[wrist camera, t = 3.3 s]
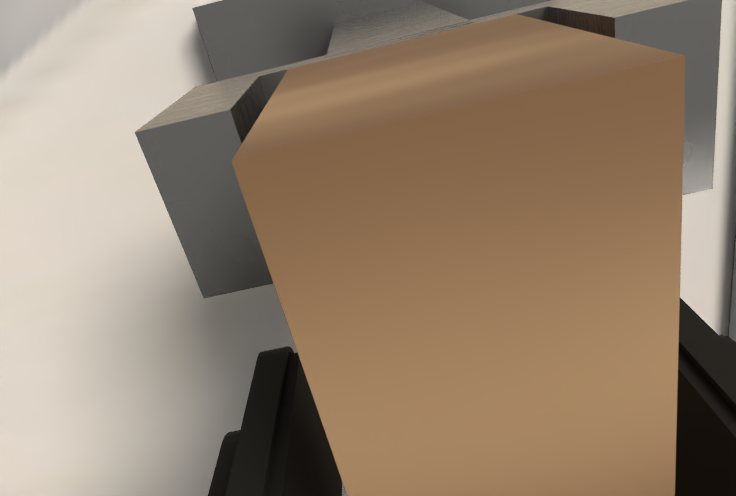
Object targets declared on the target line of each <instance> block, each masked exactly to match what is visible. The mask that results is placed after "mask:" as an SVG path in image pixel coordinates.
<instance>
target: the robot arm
mask: <svg viewBox="0 0 736 496" xmlns="http://www.w3.org/2000/svg"><path fill="white" fill-rule="evenodd" d="M208 496H342V479H341V476H340V473H339V470H338V467H337V464H336V462H335V459H334V456H333V453H332V450H331V447H330V444H329V441H328V439H327V436H326V433H325V430H324V427H323V424H322V421H321V418H320V416H319V413H318V410H317V407H316V404H315V401H314V398H313V395H312V392H311V390H310V387H309V384H308V381H307V378H306V375H305V372H304V369H303V367H302V364H301V361H300V358H299V355H298V353H294V352H293V350H292V348H291V347H289V346H288V347H283V348H278V349H273V350H269V351H264V352H260V353H259V355H258V358H257V362H256V366H255V371H254V375H253V379H252V383H251V388H250V392H249V396H248V400H247V405H246V409H245V413H244V418H243V422H242V426H241V430H239V431H234V432H228V433H227V435H226V436H225V437H224V440H223V442H222V445H221V449H220V453H219V456H218V460H217V464H216V468H215V471H214V475H213V479H212V482H211V486H210V490H209V494H208ZM675 496H736V342H735V341H734V340H732V339H731V338H730V337H728V336H724V335H718V334H717V333H716V332H715V331H714V330H713V329H712V328H711V327H710V326H709V325H707V324H706V323H705V322H704V321H703V320H702V319H701V318H700V317H699V316H698V315H697V314H696V313H695V312H694V311H693V310H692V309H691V308H690V307H689V306H688V305H687V304H686V303H685V302H684V301H683V300H682V299H681V298H680V306H679V347H678V389H677V430H676V471H675Z"/></svg>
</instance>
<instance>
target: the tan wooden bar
mask: <svg viewBox="0 0 736 496" xmlns="http://www.w3.org/2000/svg"><path fill="white" fill-rule="evenodd" d="M685 58H686V56H685V55H681V54H677V53H673V52H669V51H665V50H661V49H657V48H653V47H649V46H645V45H640V44H636V43H632V42H628V41H624V40H620V39H616V38H612V37H608V36H604V35H600V34H596V33H592V32H588V31H584V30H580V29H576V28H571V27H567V26H563V25H559V24H555V23H551V22H547V21H543V20H539V19H535V18H531V17H527V16H523V15H519V14H513V15H509V16H505V17H501V18H497V19H493V20H489V21H485V22H480V23H476V24H472V25H468V26H464V27H460V28H456V29H452V30H447V31H443V32H439V33H435V34H431V35H427V36H423V37H419V38H414V39H410V40H406V41H402V42H398V43H394V44H390V45H386V46H381V47H377V48H373V49H369V50H365V51H361V52H357V53H353V54H348V55H344V56H340V57H336V58H332V59H328V60H324V61H320V62H315V63H311V64H307V65H303V66H299V67H295V68H291V69H288V70H287V72H286V73H285V75H284V77H283V78H282V80H281V82H280V83H279V85H278V86H277V88H276V90H275V91H274V93H273V94H272V96H271V98H270V99H269V101H268V103H267V104H266V106H265V107H264V109H263V111H262V112H261V114H260V115H259V117H258V119H257V120H256V122H255V124H254V125H253V127H252V128H251V130H250V132H249V133H248V135H247V136H246V138H245V140H244V141H243V143H242V145H241V146H240V148H239V149H238V151H237V153H236V154H235V156H234V157H233V159H232V161H231V162H232V165H233V168H234V171H235V174H236V176H237V179H238V182H239V185H240V188H241V191H242V194H243V197H244V200H245V202H246V205H247V208H248V211H249V214H250V217H251V220H252V223H253V225H254V228H255V231H256V234H257V237H258V240H259V243H260V246H261V248H262V251H263V254H264V257H265V260H266V263H267V266H268V269H269V272H270V274H271V277H272V280H273V283H274V286H275V289H276V292H277V295H278V297H279V300H280V303H281V306H282V309H283V312H284V315H285V318H286V320H287V323H288V326H289V329H290V332H291V335H292V338H293V341H294V344H295V346H296V349H297V352H298V355H299V358H300V361H301V364H302V367H303V369H304V372H305V375H306V378H307V381H308V384H309V387H310V390H311V392H312V395H313V398H314V401H315V404H316V407H317V410H318V413H319V416H320V418H321V421H322V424H323V427H324V430H325V433H326V436H327V439H328V441H329V444H330V447H331V450H332V453H333V456H334V459H335V462H336V464H337V467H338V470H339V473H340V476H341V479H342V482H343V485H344V487H345V490H346V493H347V496H675V471H676V430H677V389H678V347H679V306H680V264H681V223H682V182H683V140H684V99H685Z"/></svg>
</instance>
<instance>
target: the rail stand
mask: <svg viewBox="0 0 736 496" xmlns="http://www.w3.org/2000/svg"><path fill="white" fill-rule="evenodd" d="M721 7H722V0H223V1H219V2H215V3H211V4H207V5H203V6H199V7H195V8H193V11H194V14H195V17H196V20H197V23H198V26H199V29H200V32H201V35H202V38H203V41H204V44H205V47H206V50H207V53H208V56H209V59H210V62H211V65H212V68H213V71H214V74H215V77H216V80H217V82H214V83H210V84H205V85H201V86H197V87H195V88H193V89H192V90H191V91H189V92H188V93H187V94H185V95H184V96H183V97H181V98H180V99H179V100H177V101H176V102H175V103H173V104H172V105H171V106H169V107H168V108H167V109H165V110H164V111H163V112H161V113H160V114H159V115H157V116H156V117H155V118H153V119H152V120H151V121H149V122H148V123H147V124H145V125H144V126H143V127H141V128H140V129H139V130H137V131H136V132H135V134H136V136H137V139H138V141H139V144H140V146H141V148H142V151H143V153H144V156H145V158H146V160H147V163H148V165H149V168H150V170H151V172H152V175H153V177H154V180H155V182H156V184H157V187H158V189H159V192H160V194H161V196H162V199H163V201H164V204H165V206H166V208H167V211H168V213H169V216H170V218H171V220H172V223H173V225H174V228H175V230H176V232H177V235H178V237H179V240H180V242H181V244H182V247H183V249H184V252H185V254H186V256H187V259H188V261H189V264H190V266H191V268H192V271H193V273H194V276H195V278H196V280H197V283H198V285H199V288H200V290H201V292H202V295H203V297H204V298H207V297H212V296H217V295H221V294H226V293H231V292H235V291H240V290H245V289H249V288H254V287H258V286H263V285H268V284H272V283H273V280H272V277H271V274H270V272H269V269H268V266H267V263H266V260H265V257H264V254H263V251H262V248H261V246H260V243H259V240H258V237H257V234H256V231H255V228H254V225H253V223H252V220H251V217H250V214H249V211H248V208H247V205H246V202H245V200H244V197H243V194H242V191H241V188H240V185H239V182H238V179H237V176H236V174H235V171H234V168H233V165H232V162H231V161H232V159H233V157H234V156H235V154H236V153H237V151H238V149H239V148H240V146H241V145H242V143H243V141H244V140H245V138H246V136H247V135H248V133H249V132H250V130H251V128H252V127H253V125H254V124H255V122H256V120H257V119H258V117H259V115H260V114H261V112H262V111H263V109H264V107H265V106H266V104H267V103H268V101H269V99H270V98H271V96H272V94H273V93H274V91H275V90H276V88H277V86H278V85H279V83H280V82H281V80H282V78H283V77H284V75H285V73H286V72H287V70H288V69H291V68H295V67H299V66H303V65H307V64H311V63H315V62H320V61H324V60H328V59H332V58H336V57H340V56H344V55H348V54H353V53H357V52H361V51H365V50H369V49H373V48H377V47H381V46H386V45H390V44H394V43H398V42H402V41H406V40H410V39H414V38H419V37H423V36H427V35H431V34H435V33H439V32H443V31H447V30H452V29H456V28H460V27H464V26H468V25H472V24H476V23H480V22H485V21H489V20H493V19H497V18H501V17H505V16H509V15H513V14H519V15H523V16H527V17H531V18H535V19H539V20H543V21H547V22H551V23H555V24H559V25H563V26H567V27H571V28H576V29H580V30H584V31H588V32H592V33H596V34H600V35H604V36H608V37H612V38H616V39H620V40H624V41H628V42H632V43H636V44H640V45H645V46H649V47H653V48H657V49H661V50H665V51H669V52H673V53H677V54H681V55H685V56H686V58H685V99H684V140H683V182H682V195H685V194H690V193H694V192H699V191H704V190H708V189H713V168H714V148H715V128H716V108H717V88H718V67H719V47H720V27H721Z"/></svg>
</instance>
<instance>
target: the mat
mask: <svg viewBox="0 0 736 496" xmlns="http://www.w3.org/2000/svg"><path fill="white" fill-rule="evenodd" d="M729 337H730V338H731V339H732V340H734V341H735V342H736V240H735V254H734V268H733V282H732V295H731V309H730V323H729Z"/></svg>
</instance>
